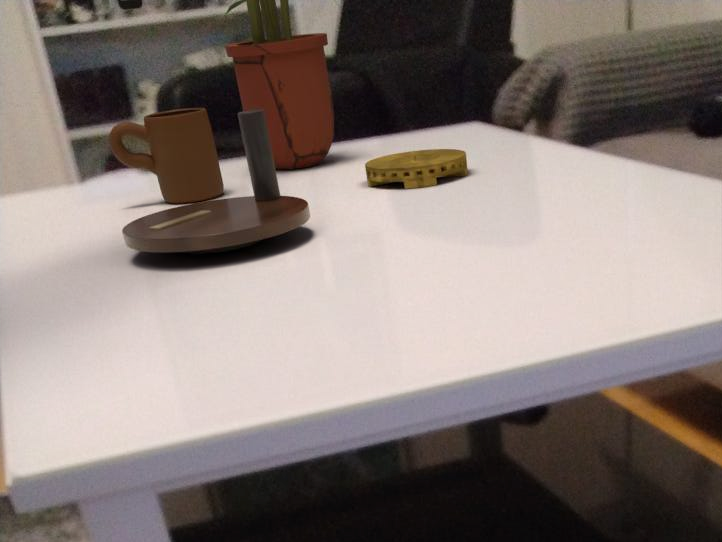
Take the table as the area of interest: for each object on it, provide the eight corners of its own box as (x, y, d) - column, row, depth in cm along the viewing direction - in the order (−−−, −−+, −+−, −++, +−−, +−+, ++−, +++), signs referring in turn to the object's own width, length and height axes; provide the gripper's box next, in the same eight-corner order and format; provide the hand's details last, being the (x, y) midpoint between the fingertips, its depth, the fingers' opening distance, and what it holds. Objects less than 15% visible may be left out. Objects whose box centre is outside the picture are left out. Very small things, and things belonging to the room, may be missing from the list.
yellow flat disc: (415, 166, 129) (413, 148, 127) (488, 170, 122) (486, 150, 121) (347, 186, 121) (344, 166, 120) (420, 191, 115) (417, 170, 113)
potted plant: (262, 161, 145) (201, -148, 126) (369, 150, 144) (325, -163, 124) (232, 185, 131) (158, -160, 111) (351, 173, 129) (298, -178, 110)
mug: (127, 213, 121) (103, 125, 116) (126, 203, 127) (103, 119, 122) (228, 197, 123) (209, 110, 118) (222, 188, 129) (204, 105, 124)
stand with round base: (103, 275, 94) (66, 149, 88) (161, 231, 109) (133, 121, 103) (294, 258, 92) (269, 129, 87) (326, 215, 107) (307, 102, 101)
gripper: (39, -193, 91) (93, 17, 99) (21, -244, 79) (85, 0, 87) (124, -200, 93) (171, 8, 101) (120, -250, 81) (174, -10, 88)
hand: (131, 4), depth 94 cm, fingers open, 8 cm apart
